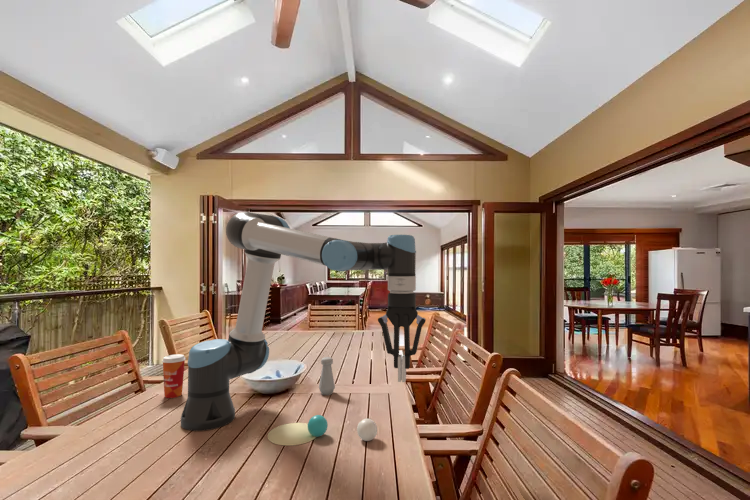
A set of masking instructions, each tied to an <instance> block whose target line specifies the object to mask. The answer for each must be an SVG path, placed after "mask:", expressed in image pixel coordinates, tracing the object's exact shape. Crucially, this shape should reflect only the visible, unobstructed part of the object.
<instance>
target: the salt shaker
mask: <svg viewBox="0 0 750 500" xmlns="http://www.w3.org/2000/svg"><path fill="white" fill-rule="evenodd" d="M320 363H321V365H322V366H321V375H320V379H319V384H318V385H319V386H318V388H319V392H320V394H321V395H322V396H330V395H332V394H333V393H334V391H335V388H336V385H335V380H334V374H333V367H332V365H333V364H334V361H333V357H330V356H324V357H322V358H321V361H320Z"/></svg>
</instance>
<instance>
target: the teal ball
mask: <svg viewBox="0 0 750 500" xmlns="http://www.w3.org/2000/svg"><path fill="white" fill-rule="evenodd" d="M307 424H308V431H309V433H310V434H311V435H312V436H315V437H316V438H317V437H321V436H324V434H325V433H326V432H327V430H328V421H327V419H326V417H324V416H323V415H321V414H316V415H313V416H312V417H311V418H310V419H309V420H308V422H307Z"/></svg>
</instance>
